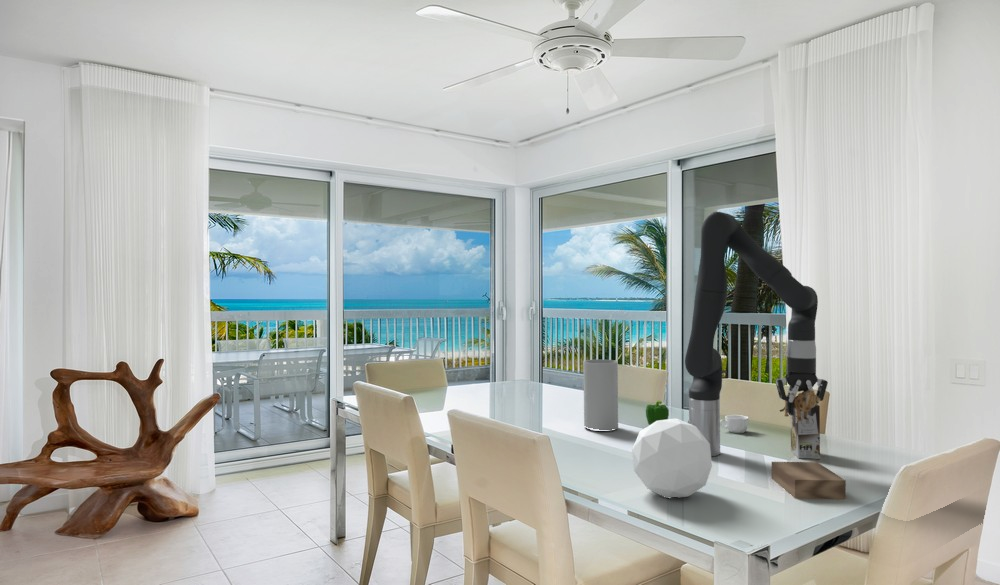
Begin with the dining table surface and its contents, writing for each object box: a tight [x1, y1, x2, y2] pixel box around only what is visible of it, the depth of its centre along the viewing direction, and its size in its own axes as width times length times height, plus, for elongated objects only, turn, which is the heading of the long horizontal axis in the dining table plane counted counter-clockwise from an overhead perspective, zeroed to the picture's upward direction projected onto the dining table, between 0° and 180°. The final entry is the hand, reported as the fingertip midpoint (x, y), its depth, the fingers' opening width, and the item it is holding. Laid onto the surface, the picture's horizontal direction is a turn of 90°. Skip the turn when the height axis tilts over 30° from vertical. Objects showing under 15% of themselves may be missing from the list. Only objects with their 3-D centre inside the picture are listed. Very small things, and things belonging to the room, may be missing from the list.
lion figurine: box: [779, 389, 821, 421], centre depth 179 cm, size 15×5×9 cm, turn 14°
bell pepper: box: [645, 400, 670, 426], centre depth 234 cm, size 8×8×10 cm
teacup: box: [720, 414, 749, 434], centre depth 223 cm, size 10×8×5 cm
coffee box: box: [789, 404, 821, 460], centre depth 192 cm, size 9×6×16 cm
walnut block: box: [771, 461, 847, 500], centre depth 161 cm, size 12×16×5 cm
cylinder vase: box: [582, 359, 619, 430], centre depth 231 cm, size 12×12×25 cm
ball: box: [631, 417, 713, 498], centre depth 157 cm, size 19×20×20 cm
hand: (801, 414), depth 178 cm, fingers closed on lion figurine, 4 cm apart
